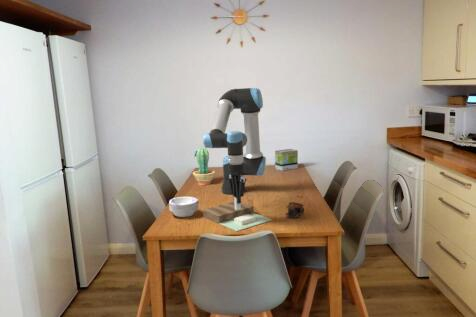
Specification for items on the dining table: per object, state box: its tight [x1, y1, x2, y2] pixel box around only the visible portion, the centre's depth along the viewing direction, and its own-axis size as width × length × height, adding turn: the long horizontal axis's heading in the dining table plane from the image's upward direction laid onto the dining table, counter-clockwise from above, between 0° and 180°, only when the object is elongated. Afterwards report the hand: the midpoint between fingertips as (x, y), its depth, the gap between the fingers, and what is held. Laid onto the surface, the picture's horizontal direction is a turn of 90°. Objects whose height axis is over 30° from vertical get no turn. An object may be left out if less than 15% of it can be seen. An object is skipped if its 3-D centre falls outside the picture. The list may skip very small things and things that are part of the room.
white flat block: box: [234, 214, 256, 225], centre depth 194 cm, size 9×6×2 cm, turn 127°
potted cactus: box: [192, 146, 216, 186], centre depth 272 cm, size 15×15×25 cm
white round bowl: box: [168, 196, 199, 218], centre depth 210 cm, size 15×15×8 cm
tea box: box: [274, 148, 299, 172], centre depth 309 cm, size 15×10×15 cm
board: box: [202, 201, 255, 225], centre depth 205 cm, size 22×14×4 cm, turn 127°
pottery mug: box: [285, 201, 305, 220], centre depth 200 cm, size 12×10×8 cm
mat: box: [218, 212, 273, 232], centre depth 195 cm, size 22×14×1 cm, turn 127°
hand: (237, 209), depth 198 cm, fingers closed
